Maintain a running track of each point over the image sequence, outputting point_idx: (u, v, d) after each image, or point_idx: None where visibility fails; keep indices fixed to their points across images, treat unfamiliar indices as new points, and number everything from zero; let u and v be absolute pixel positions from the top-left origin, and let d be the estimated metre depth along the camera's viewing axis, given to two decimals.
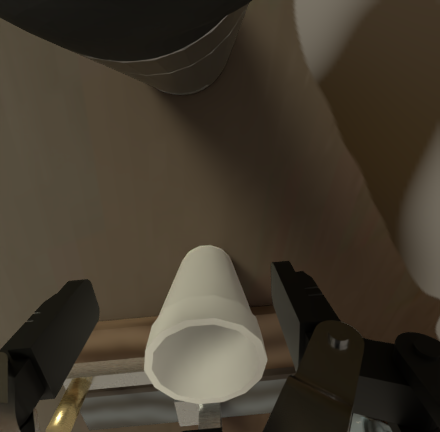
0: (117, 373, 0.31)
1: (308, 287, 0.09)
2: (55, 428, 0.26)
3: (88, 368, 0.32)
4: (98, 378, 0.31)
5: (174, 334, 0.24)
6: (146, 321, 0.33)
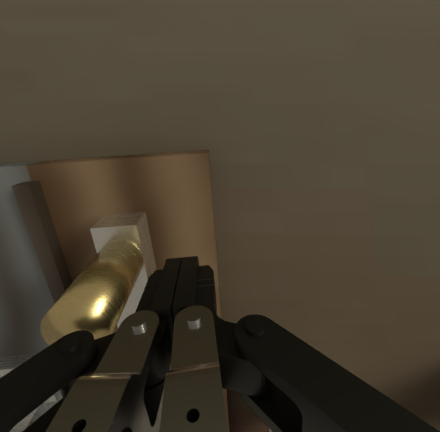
0: None
1: (205, 279, 0.10)
2: (92, 329, 0.09)
3: (150, 261, 0.15)
4: None
5: None
6: None
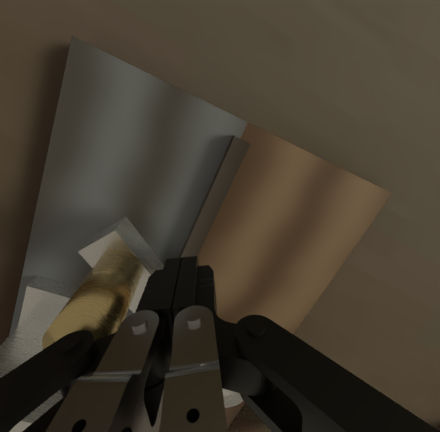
0: None
1: (205, 279, 0.10)
2: None
3: (151, 260, 0.15)
4: None
5: None
6: None
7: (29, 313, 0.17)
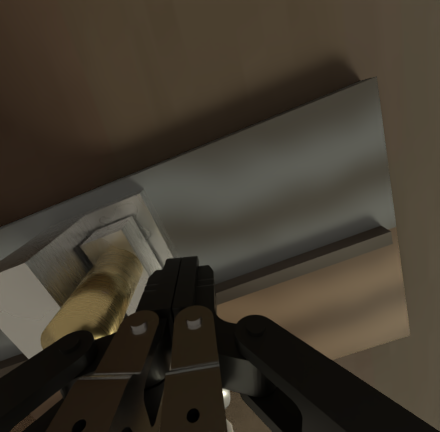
0: None
1: (205, 279, 0.10)
2: None
3: (151, 262, 0.15)
4: None
5: None
6: None
7: (110, 215, 0.15)
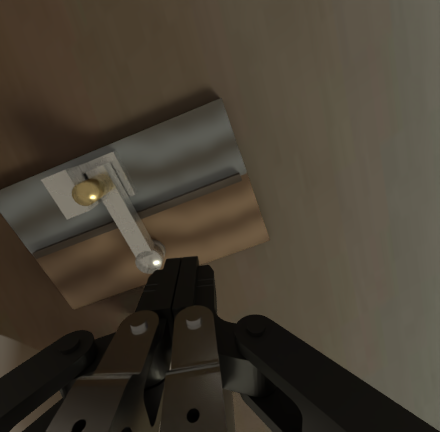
0: (131, 215, 0.32)
1: (205, 279, 0.10)
2: (88, 192, 0.26)
3: (118, 184, 0.32)
4: (118, 199, 0.31)
5: None
6: None
7: (99, 162, 0.32)
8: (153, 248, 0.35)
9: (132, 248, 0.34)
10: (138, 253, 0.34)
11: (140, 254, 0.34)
